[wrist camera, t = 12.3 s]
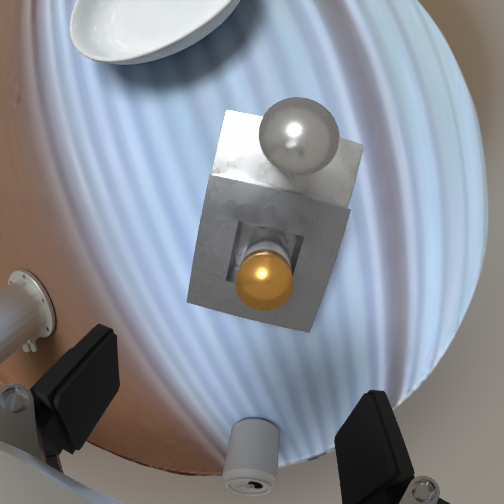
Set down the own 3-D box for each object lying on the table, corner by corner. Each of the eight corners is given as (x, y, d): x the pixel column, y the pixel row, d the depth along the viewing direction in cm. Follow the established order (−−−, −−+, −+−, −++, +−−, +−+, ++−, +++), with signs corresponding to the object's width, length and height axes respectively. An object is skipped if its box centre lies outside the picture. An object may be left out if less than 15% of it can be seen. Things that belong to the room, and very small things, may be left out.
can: (285, 436, 39) (283, 495, 27) (243, 443, 40) (235, 499, 29) (269, 410, 37) (264, 476, 26) (224, 419, 38) (210, 479, 27)
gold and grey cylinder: (289, 230, 28) (297, 261, 19) (284, 267, 29) (288, 313, 20) (250, 225, 29) (237, 253, 19) (246, 263, 30) (232, 306, 20)
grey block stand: (311, 310, 32) (329, 405, 17) (193, 280, 32) (136, 358, 18) (360, 145, 26) (432, 127, 12) (228, 112, 26) (180, 61, 12)
